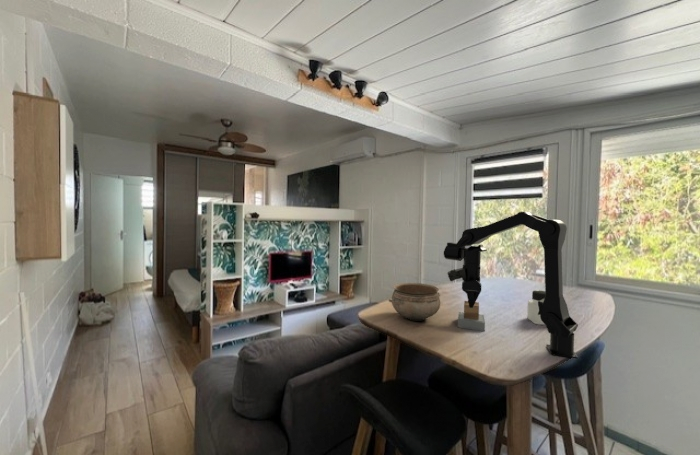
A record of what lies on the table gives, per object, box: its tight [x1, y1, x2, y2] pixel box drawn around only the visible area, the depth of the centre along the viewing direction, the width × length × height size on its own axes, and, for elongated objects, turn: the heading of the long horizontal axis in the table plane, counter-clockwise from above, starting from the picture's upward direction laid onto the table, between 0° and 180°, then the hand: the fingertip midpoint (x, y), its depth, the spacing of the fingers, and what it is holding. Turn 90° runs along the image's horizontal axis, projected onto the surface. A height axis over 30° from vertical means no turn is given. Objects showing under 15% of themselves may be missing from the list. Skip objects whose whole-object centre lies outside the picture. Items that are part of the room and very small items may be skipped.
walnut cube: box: [463, 300, 480, 320], centre depth 108 cm, size 5×5×5 cm
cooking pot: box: [388, 282, 441, 322], centre depth 115 cm, size 25×19×12 cm
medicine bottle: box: [526, 289, 546, 326], centre depth 112 cm, size 7×7×12 cm
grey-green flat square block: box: [457, 311, 486, 332], centre depth 108 cm, size 9×9×3 cm
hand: (470, 304), depth 108 cm, fingers open, 9 cm apart
